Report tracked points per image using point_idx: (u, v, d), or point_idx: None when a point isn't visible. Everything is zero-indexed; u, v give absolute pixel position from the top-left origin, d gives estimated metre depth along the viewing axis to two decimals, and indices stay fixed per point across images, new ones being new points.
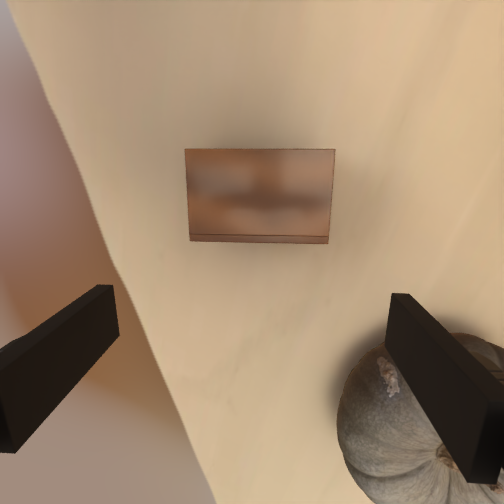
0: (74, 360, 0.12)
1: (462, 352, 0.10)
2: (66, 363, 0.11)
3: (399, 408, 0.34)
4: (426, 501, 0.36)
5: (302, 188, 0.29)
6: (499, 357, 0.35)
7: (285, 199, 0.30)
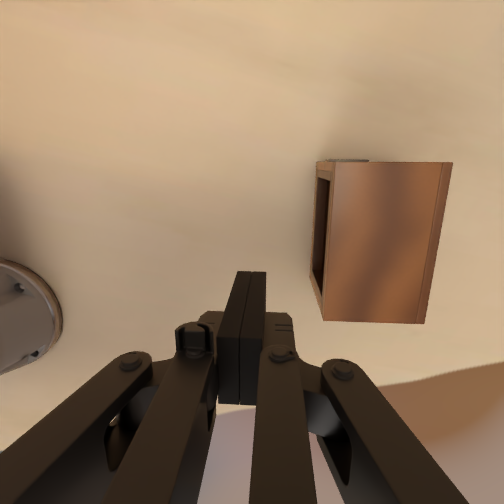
0: None
1: (258, 310, 0.12)
2: None
3: None
4: None
5: (377, 198, 0.25)
6: None
7: (388, 218, 0.25)
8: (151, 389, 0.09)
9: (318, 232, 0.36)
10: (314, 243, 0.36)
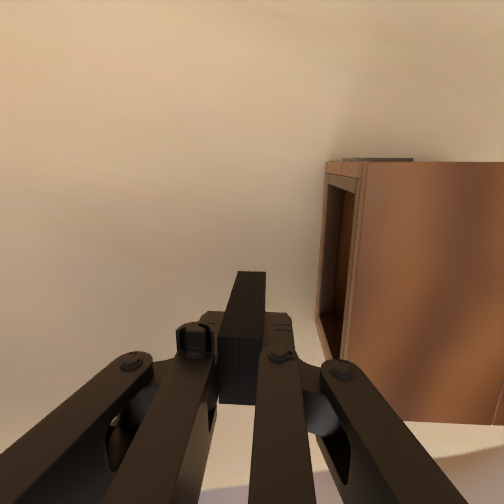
0: None
1: (257, 310, 0.12)
2: None
3: None
4: None
5: (439, 225, 0.14)
6: None
7: (457, 259, 0.15)
8: (152, 389, 0.09)
9: (328, 262, 0.25)
10: (322, 278, 0.25)
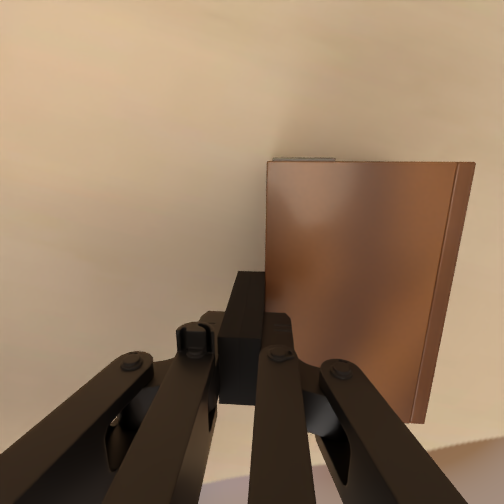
0: None
1: (257, 310, 0.12)
2: None
3: None
4: None
5: (342, 225, 0.14)
6: None
7: (362, 258, 0.15)
8: (152, 389, 0.09)
9: None
10: None
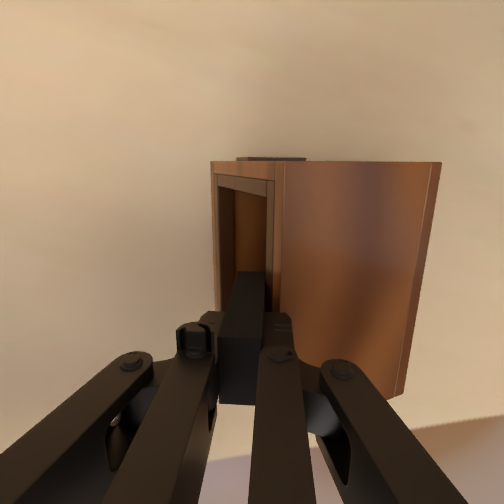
0: None
1: (257, 310, 0.12)
2: None
3: None
4: None
5: (350, 225, 0.14)
6: None
7: (365, 255, 0.15)
8: (152, 389, 0.09)
9: (225, 271, 0.23)
10: (221, 288, 0.23)
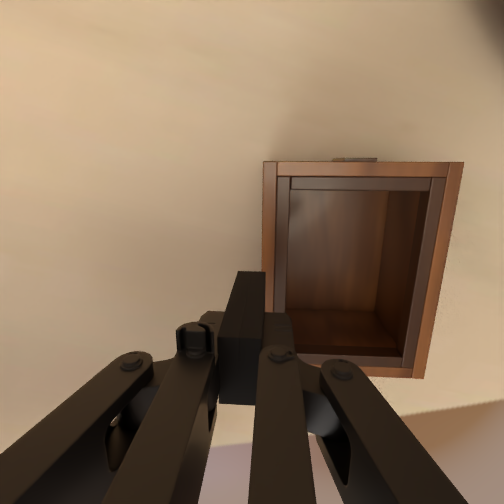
0: None
1: (257, 310, 0.12)
2: None
3: None
4: None
5: None
6: None
7: None
8: (152, 389, 0.09)
9: None
10: (285, 307, 0.20)
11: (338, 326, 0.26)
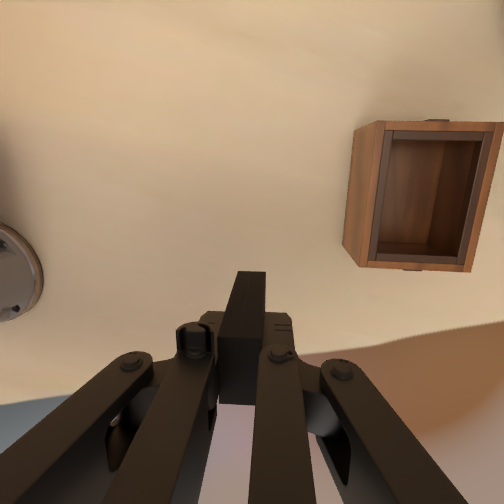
0: None
1: (257, 310, 0.12)
2: None
3: None
4: None
5: None
6: None
7: None
8: (152, 389, 0.09)
9: None
10: (380, 220, 0.30)
11: (404, 248, 0.36)
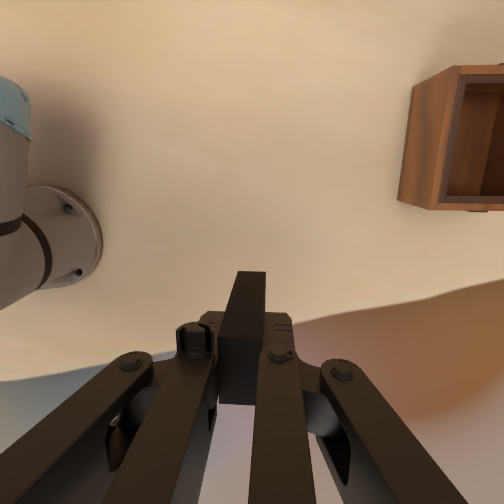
0: None
1: (257, 310, 0.12)
2: None
3: None
4: None
5: None
6: None
7: None
8: (152, 389, 0.09)
9: None
10: (451, 163, 0.32)
11: None
